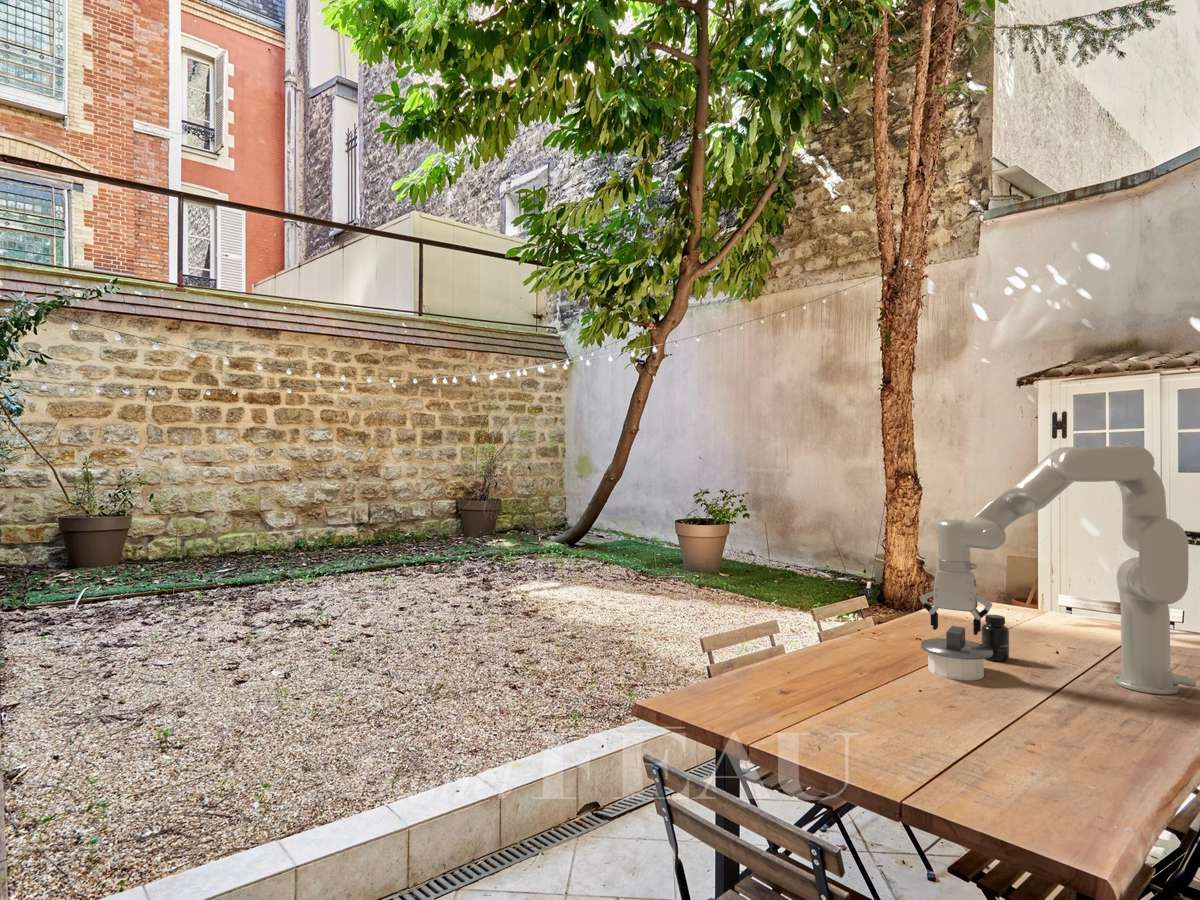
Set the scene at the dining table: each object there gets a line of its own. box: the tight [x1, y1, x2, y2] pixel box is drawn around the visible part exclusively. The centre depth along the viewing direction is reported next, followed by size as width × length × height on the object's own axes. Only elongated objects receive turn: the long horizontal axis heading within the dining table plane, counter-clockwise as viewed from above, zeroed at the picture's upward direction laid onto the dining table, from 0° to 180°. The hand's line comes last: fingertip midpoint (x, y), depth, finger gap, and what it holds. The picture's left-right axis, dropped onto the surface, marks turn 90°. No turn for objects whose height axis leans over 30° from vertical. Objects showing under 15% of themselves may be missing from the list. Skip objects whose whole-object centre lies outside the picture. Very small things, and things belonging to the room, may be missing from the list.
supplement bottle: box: [980, 614, 1010, 663], centre depth 193 cm, size 7×7×12 cm
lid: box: [920, 625, 993, 660], centre depth 182 cm, size 17×17×5 cm
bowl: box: [927, 652, 985, 681], centre depth 182 cm, size 13×13×6 cm
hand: (955, 631), depth 182 cm, fingers open, 9 cm apart
